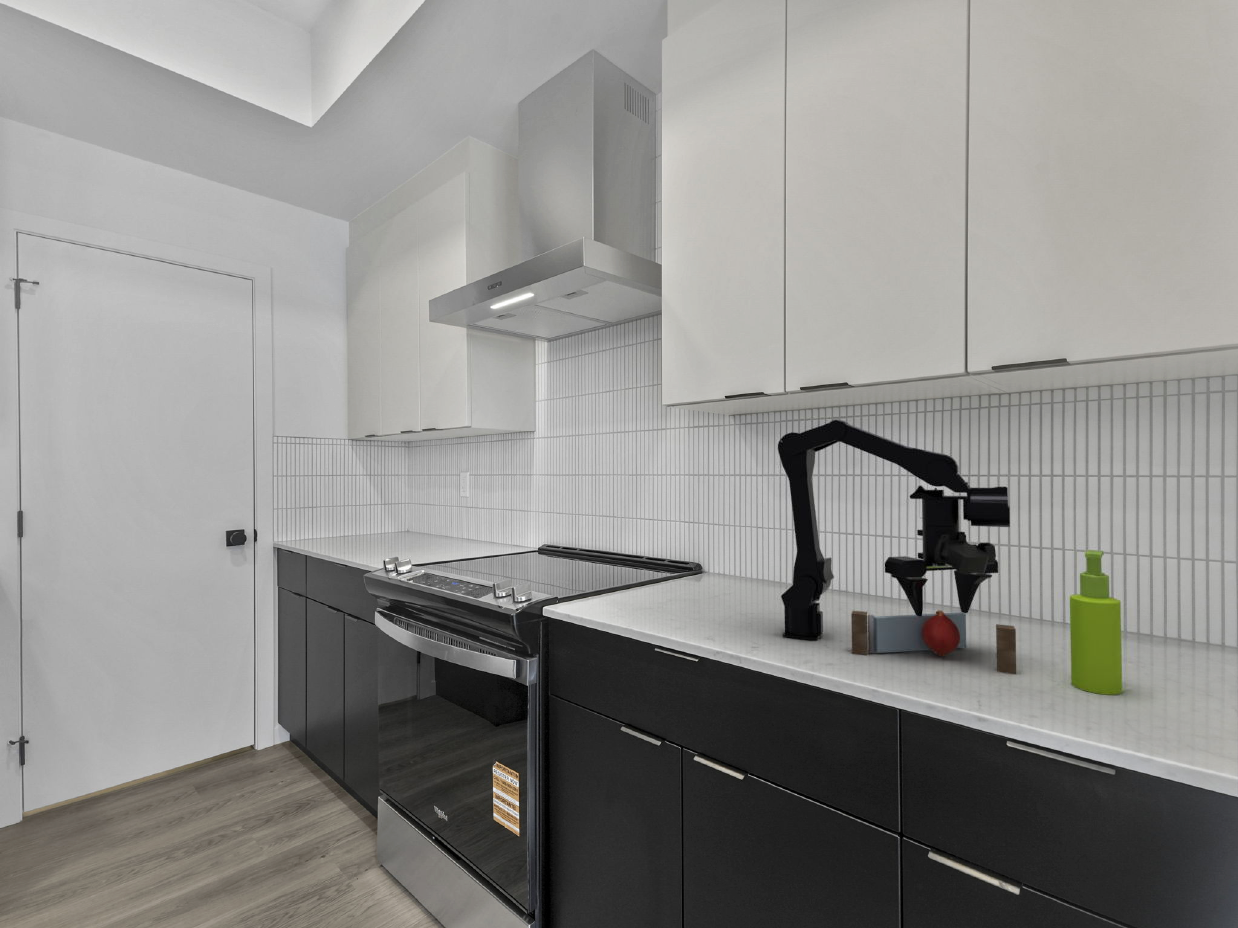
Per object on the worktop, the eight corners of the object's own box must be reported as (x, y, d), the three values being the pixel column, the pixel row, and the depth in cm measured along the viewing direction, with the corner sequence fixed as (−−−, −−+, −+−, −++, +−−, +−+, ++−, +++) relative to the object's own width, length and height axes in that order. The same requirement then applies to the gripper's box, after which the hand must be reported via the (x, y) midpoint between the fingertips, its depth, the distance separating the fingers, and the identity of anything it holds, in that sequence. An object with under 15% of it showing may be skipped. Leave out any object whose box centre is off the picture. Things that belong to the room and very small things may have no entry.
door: (870, 653, 105) (870, 616, 105) (866, 651, 106) (866, 614, 106) (966, 647, 108) (965, 611, 108) (961, 645, 109) (960, 610, 109)
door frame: (851, 654, 105) (851, 614, 106) (853, 649, 108) (852, 610, 108) (1016, 673, 94) (1015, 629, 95) (1013, 668, 97) (1013, 625, 97)
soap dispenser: (1123, 684, 90) (1120, 550, 90) (1121, 698, 84) (1118, 555, 85) (1074, 675, 93) (1071, 547, 94) (1069, 688, 88) (1066, 552, 88)
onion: (926, 649, 108) (926, 604, 108) (963, 655, 104) (962, 609, 104) (918, 657, 103) (918, 610, 103) (956, 663, 100) (955, 615, 100)
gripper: (926, 531, 95) (928, 629, 95) (1025, 527, 99) (1026, 622, 99) (882, 525, 106) (883, 613, 106) (972, 522, 110) (973, 607, 110)
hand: (941, 614), depth 105 cm, fingers open, 9 cm apart
